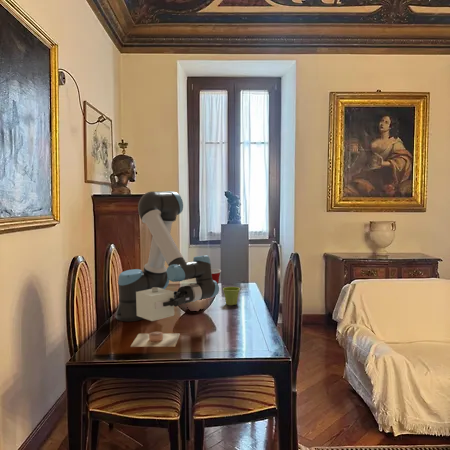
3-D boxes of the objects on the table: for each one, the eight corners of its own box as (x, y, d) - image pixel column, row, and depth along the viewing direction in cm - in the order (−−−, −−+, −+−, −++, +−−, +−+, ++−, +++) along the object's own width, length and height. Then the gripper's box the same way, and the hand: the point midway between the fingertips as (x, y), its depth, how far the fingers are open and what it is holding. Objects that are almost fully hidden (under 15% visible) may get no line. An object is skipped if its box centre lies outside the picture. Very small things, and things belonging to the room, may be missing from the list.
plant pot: (238, 306, 239) (238, 290, 239) (221, 305, 241) (221, 290, 241) (241, 302, 249) (241, 287, 248) (224, 301, 250) (224, 286, 250)
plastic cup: (202, 290, 280) (202, 271, 279) (206, 286, 290) (206, 268, 289) (219, 290, 278) (219, 271, 277) (222, 287, 288) (222, 268, 288)
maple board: (130, 350, 175) (130, 346, 175) (138, 337, 191) (138, 333, 191) (175, 350, 175) (175, 346, 174) (180, 336, 190) (180, 333, 190)
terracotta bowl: (148, 342, 180) (147, 335, 180) (150, 337, 185) (150, 331, 185) (161, 342, 180) (161, 335, 180) (163, 337, 185) (163, 331, 185)
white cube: (152, 321, 174) (151, 292, 173) (136, 315, 182) (135, 288, 181) (174, 315, 182) (173, 287, 181) (158, 310, 189) (157, 283, 189)
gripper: (207, 306, 186) (164, 317, 170) (172, 297, 202) (131, 307, 187) (206, 289, 185) (164, 298, 170) (172, 281, 202) (131, 289, 187)
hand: (147, 303), depth 178 cm, fingers closed on white cube, 11 cm apart
